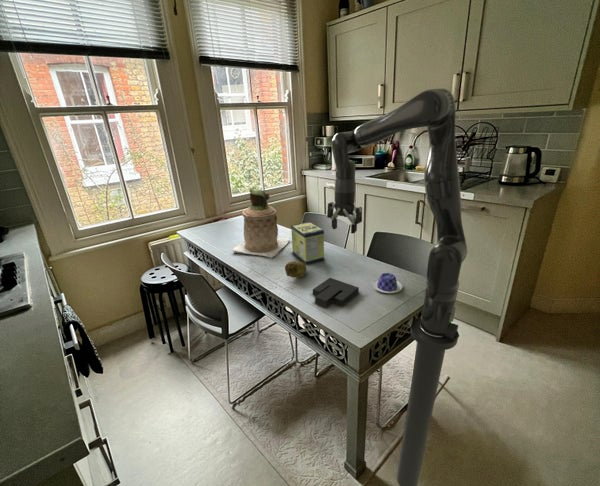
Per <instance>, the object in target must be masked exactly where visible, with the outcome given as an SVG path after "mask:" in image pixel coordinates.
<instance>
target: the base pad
mask: <svg viewBox="0 0 600 486" xmlns="http://www.w3.org/2000/svg"><path fill="white" fill-rule="evenodd" d="M329 286H331V287H334V288H337V289H339V290H340V294H339V295H337V296H336V297H335V298H334V302H333V303H334V304H336V305H338V306H340V307H343V306H344V305H346V304H347V303H348V302H349V301H351V300H352V299H353V298H355V296H357V295H358V294H359V291H360V289H359V288H360V287H359V286H356V285H353V284H351V283H347V282H344V281H341V280H339V279H336V278H333V277H328V278H327V279H325V280H324V281H322V282H321V283H320V284H318V285H316V286H315V287H313V288H312V295H313V296H315V297H316V296H317V295H318V294H320V293H321V292H322V291H324V290H325V289H327V288H328V287H329Z"/></svg>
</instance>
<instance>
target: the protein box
mask: <svg viewBox="0 0 600 486" xmlns="http://www.w3.org/2000/svg"><path fill="white" fill-rule="evenodd" d="M290 227H291V228H290V229H291V245H292V246H291V249H292V254H293V255H294V256H295V257H296V258H298V259H299V260H300V262H303V263H305V265H309V264H312V263H317V262H321V261H324V260H325V231H324V229H322V228H321V227H318V226H317V225H315V224H313V223H312V222H310V221H307V222H302V223H296V224H291V225H290Z"/></svg>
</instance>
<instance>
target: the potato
mask: <svg viewBox="0 0 600 486" xmlns="http://www.w3.org/2000/svg"><path fill="white" fill-rule="evenodd" d="M307 270H308V268H307V264H305V263H304V262H302V261H295V260H292V261H289V262H287V263H285V266H284V271H285V274H286V276H287V277H289V278H301V277H303V276H305V275H306V273H307Z"/></svg>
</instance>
